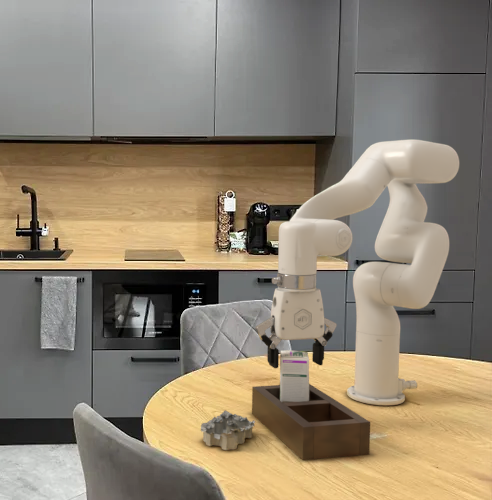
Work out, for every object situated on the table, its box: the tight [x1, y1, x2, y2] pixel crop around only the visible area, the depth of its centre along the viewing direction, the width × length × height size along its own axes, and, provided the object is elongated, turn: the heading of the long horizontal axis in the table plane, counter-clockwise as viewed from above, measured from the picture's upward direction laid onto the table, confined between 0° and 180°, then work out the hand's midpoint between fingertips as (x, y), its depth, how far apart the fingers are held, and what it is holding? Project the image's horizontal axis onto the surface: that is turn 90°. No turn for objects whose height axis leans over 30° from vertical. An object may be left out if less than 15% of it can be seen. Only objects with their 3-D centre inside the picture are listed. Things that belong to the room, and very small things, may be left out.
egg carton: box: [200, 410, 256, 451], centre depth 118 cm, size 11×8×4 cm
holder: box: [251, 383, 371, 461], centre depth 122 cm, size 13×24×6 cm, turn 12°
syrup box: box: [279, 349, 310, 403], centre depth 127 cm, size 6×6×14 cm
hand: (295, 365), depth 127 cm, fingers open, 9 cm apart
